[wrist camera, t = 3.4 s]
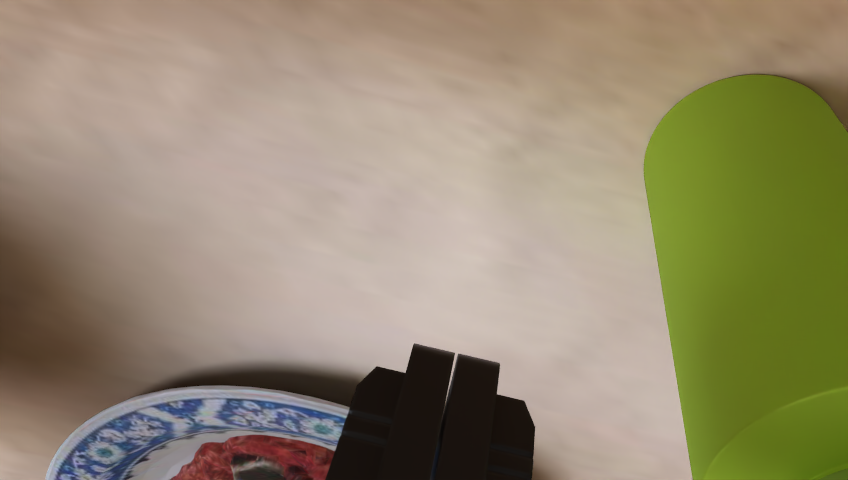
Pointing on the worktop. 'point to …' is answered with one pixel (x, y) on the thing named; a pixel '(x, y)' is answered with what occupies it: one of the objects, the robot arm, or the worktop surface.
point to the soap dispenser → (755, 276)
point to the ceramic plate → (205, 437)
